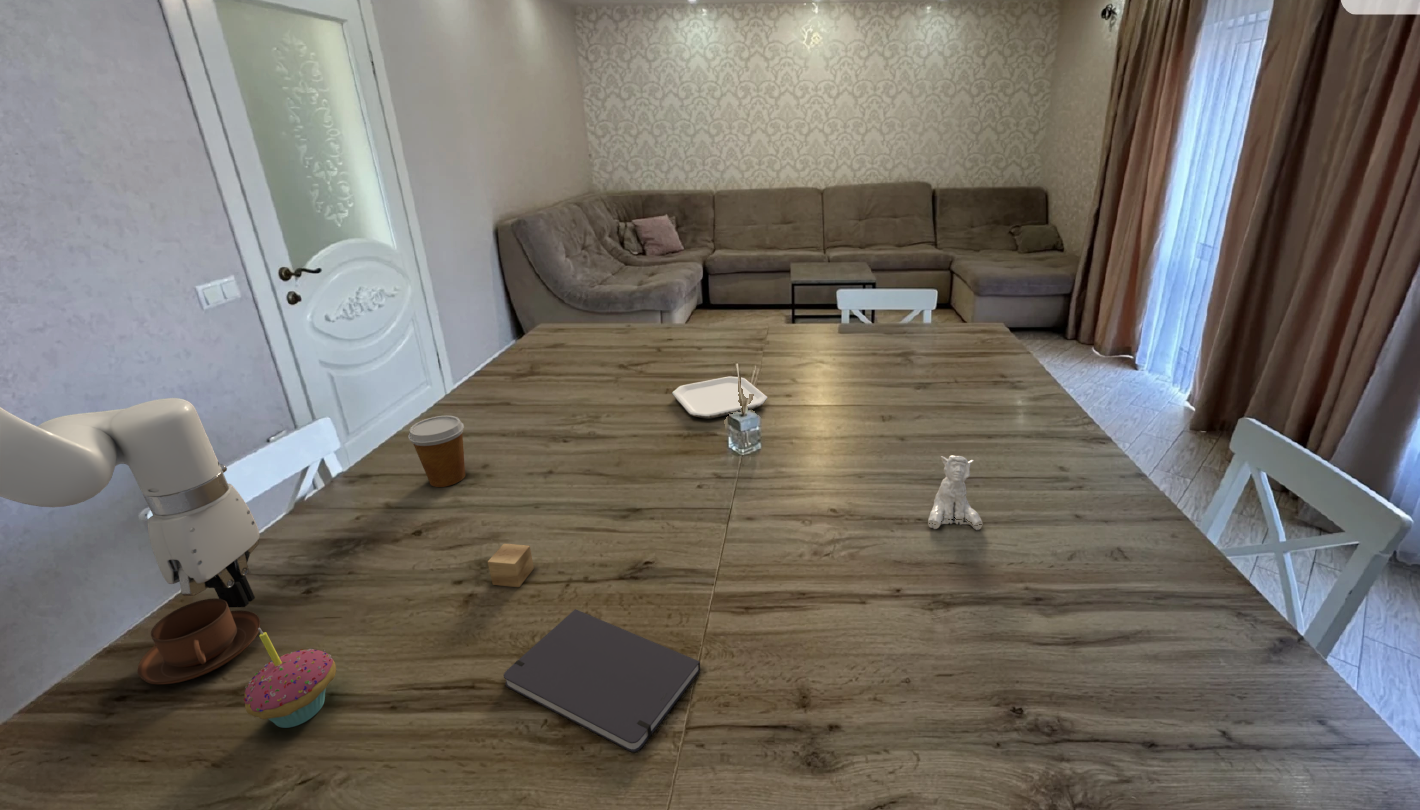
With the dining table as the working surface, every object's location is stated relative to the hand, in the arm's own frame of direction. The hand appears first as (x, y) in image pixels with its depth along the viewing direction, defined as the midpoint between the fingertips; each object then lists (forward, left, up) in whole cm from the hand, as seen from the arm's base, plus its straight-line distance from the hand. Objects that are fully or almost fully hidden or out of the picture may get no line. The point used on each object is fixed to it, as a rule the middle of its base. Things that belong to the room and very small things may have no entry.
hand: (239, 603), depth 86 cm
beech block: (+24, -26, -3) cm, 35 cm away
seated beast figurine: (+71, -83, -4) cm, 109 cm away
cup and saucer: (-5, -2, -4) cm, 7 cm away
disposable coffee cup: (+38, +10, -4) cm, 39 cm away
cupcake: (-4, -23, -4) cm, 24 cm away
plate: (+94, -18, -4) cm, 96 cm away
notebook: (+16, -52, -4) cm, 54 cm away
